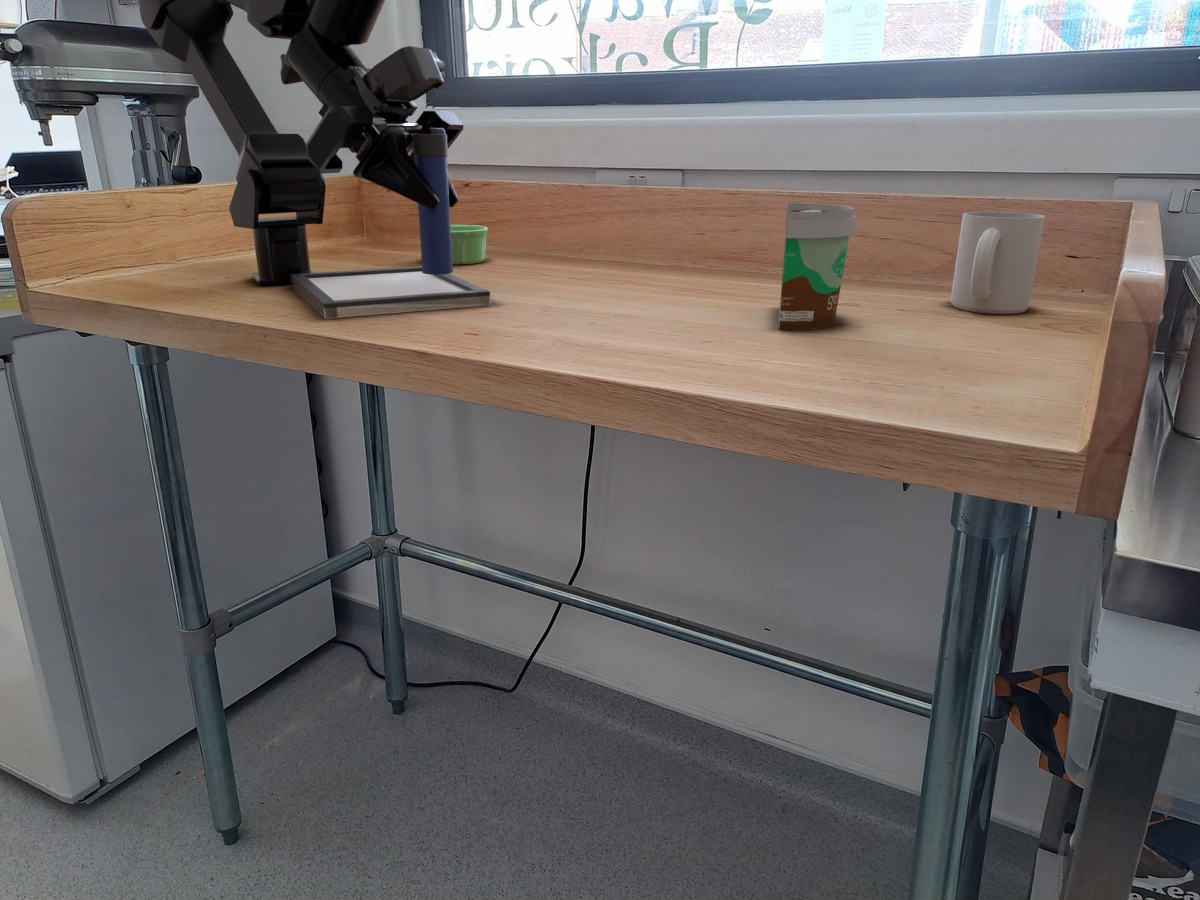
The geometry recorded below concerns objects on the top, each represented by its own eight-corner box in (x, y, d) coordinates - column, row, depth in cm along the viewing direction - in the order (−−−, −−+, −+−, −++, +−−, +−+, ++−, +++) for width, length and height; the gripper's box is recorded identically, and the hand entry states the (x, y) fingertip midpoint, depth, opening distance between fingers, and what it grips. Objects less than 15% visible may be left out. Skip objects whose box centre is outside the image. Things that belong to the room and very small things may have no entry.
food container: (853, 336, 72) (866, 213, 69) (778, 333, 73) (788, 212, 70) (843, 309, 83) (854, 203, 80) (779, 307, 85) (787, 202, 81)
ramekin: (412, 264, 112) (409, 230, 110) (433, 256, 120) (432, 224, 119) (478, 266, 111) (477, 231, 109) (496, 257, 119) (494, 225, 118)
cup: (1035, 306, 86) (1051, 214, 83) (1013, 322, 78) (1031, 221, 75) (960, 298, 90) (973, 210, 87) (933, 313, 82) (946, 217, 79)
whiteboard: (292, 286, 95) (290, 274, 94) (432, 277, 102) (431, 265, 101) (325, 318, 78) (323, 303, 77) (490, 305, 85) (490, 291, 84)
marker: (417, 271, 86) (408, 134, 82) (448, 269, 88) (441, 134, 83) (426, 275, 83) (417, 134, 79) (458, 273, 85) (451, 134, 80)
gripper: (318, 1, 71) (438, 143, 71) (442, 27, 87) (541, 143, 87) (257, 103, 76) (368, 236, 76) (384, 110, 93) (477, 219, 92)
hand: (445, 205), depth 83 cm, fingers closed on marker, 3 cm apart
